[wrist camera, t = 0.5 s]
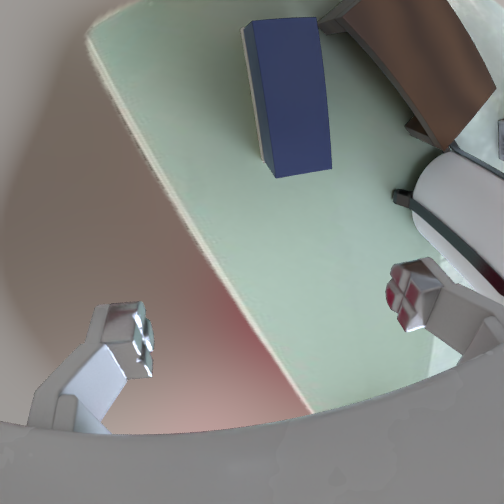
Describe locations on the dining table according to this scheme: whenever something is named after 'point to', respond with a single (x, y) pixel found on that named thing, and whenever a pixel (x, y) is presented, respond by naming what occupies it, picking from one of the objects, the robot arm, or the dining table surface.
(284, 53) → the navy block white base
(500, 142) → the coffee box
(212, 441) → the robot arm
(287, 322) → the dining table surface
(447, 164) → the coffee press
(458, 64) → the shelf
